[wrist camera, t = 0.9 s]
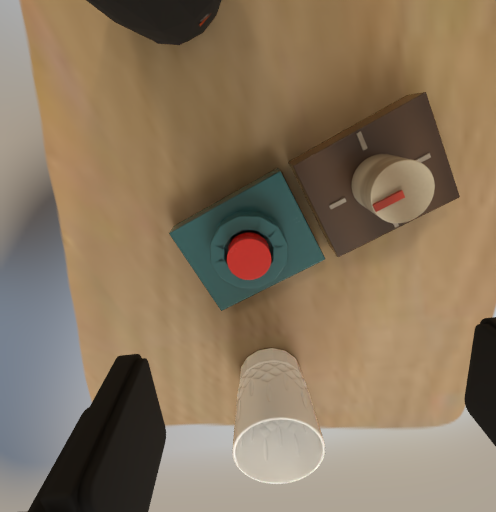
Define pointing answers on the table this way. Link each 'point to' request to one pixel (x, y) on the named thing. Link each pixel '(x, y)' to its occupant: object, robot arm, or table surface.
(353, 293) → the table surface
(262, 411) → the white cup
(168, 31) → the portable speaker
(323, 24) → the table surface
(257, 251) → the button
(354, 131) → the dial panel
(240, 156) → the table surface
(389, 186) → the dial
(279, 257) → the button block
